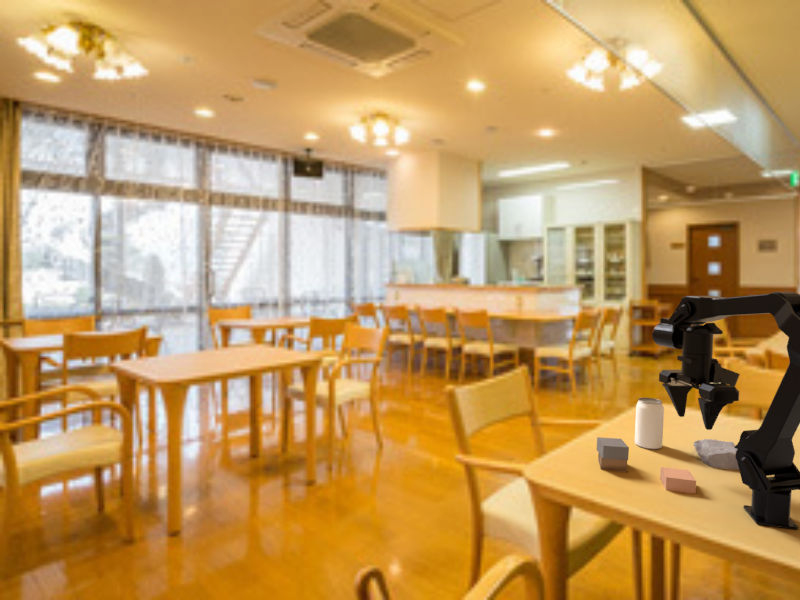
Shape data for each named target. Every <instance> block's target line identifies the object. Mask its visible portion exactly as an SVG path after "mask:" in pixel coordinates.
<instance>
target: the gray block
mask: <svg viewBox="0 0 800 600" xmlns="http://www.w3.org/2000/svg"><path fill="white" fill-rule="evenodd" d="M629 450H630V447H629V446H628V445H627V443H625V441H624V440H623V439H622V438H616V437H615V438H614V437H601V436H600V437H599V436H598V437H596V451H597V453H598V452H599V454H600V455H601V456H602V458H604V459H619V460H627V461H629V452H630V451H629Z"/></svg>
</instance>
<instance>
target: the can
mask: <svg viewBox="0 0 800 600" xmlns="http://www.w3.org/2000/svg"><path fill="white" fill-rule="evenodd" d="M637 400H638V401H637V403H636V405H635V425H634V443H635V445H636V446H638V447H639V448H643V449H646V450H659V449H661V448H662V447H663V439H664V419H665V416H664V415H665V407H664V406H663V400H660V399H657V398H653V397H639V398H638V399H637Z"/></svg>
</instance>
